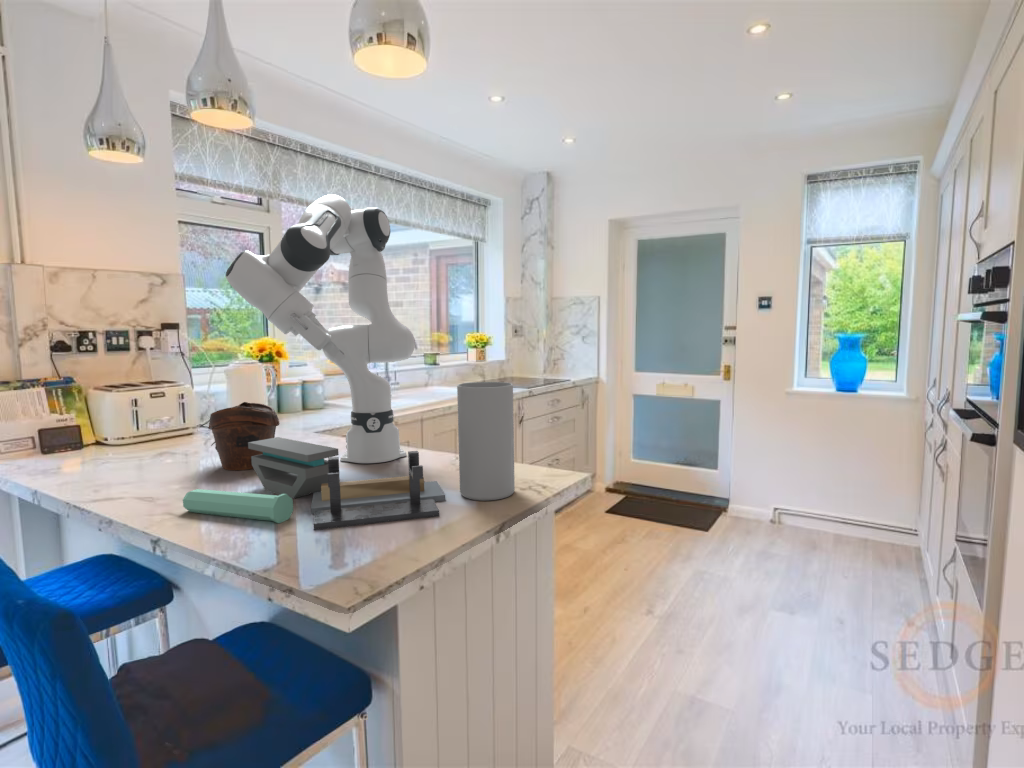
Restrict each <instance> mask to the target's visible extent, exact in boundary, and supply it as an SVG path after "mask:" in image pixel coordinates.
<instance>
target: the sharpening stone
mask: <svg viewBox="0 0 1024 768" xmlns="http://www.w3.org/2000/svg"><path fill="white" fill-rule="evenodd" d="M248 449H252V450H257V451H261V452H263V454H261V455H256V456H251V460H252V466H253V468H254V469H253V470H254V472H255V473H256V476H257V477H258V480H259V481H260V482H261V485H262V487H263V489H264V491H266V492H269V493H273V494H277V495H281V494H287V495H288V496H289V497H290V498H292V499H297V498H300V497H304V496H308V495H311V494H314V492H321V485H322V484H325V483H328V473H329V468H328V459H327V458H330V457H338V456H339V455H340V453H339V448H337V447H331V446H327V445H322V444H316V443H310V442H304V441H299V440H294V439H290V438H284V437H279V436H277V437H276V436H275V438H270V439H265V440H259V441H253V442H248Z"/></svg>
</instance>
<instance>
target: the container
mask: <svg viewBox="0 0 1024 768" xmlns="http://www.w3.org/2000/svg"><path fill="white" fill-rule="evenodd" d="M293 499H294V498H293ZM293 499H292V498H290V497H289V496H288V495H287V494H281V495H279V494H277V495H274V494H265V493H264V494H262V493H251V492H250V493H249V492H238V491H227V490H226V491H224V490H214V489H201V488H197V489H193V490H191V491H188V492H186V493H185V495H184V497H183V498H182V507H183V508H184V509H186V510H187V511H188V512H190V513H195V514H196V513H197V514H206V515H214V516H221V517H222V516H223V517H231V518H241V519H250V520H259V521H270V522H274V523H276V524H281V523H283V522H285V521H288V520H289V519H290V518H291V516H292V514H293V511H294V502H293V501H294V500H293Z"/></svg>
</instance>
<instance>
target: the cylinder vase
mask: <svg viewBox="0 0 1024 768" xmlns="http://www.w3.org/2000/svg"><path fill="white" fill-rule="evenodd" d="M456 390H457V391H456V393H457V395H456V397H457V430H458V431H457V433H458V434H457V435H458V462H459V463H458V469H459V493H460V495H461V496H463V497H464V498H466V499H469V500H471V501H472V500H473V501H485V502H486V501H488V502H489V501H498V500H502V499H505V498H509V497H510V496H512V495H513V493H514V492H515V491H516V490H515V487H516V486H515V434H514V433H515V428H514V426H515V424H514V422H515V421H514V384H513V383H510V382H504V381H503V382H502V381H479V382H478V381H477V382H476V381H475V382H465V383H464V382H463V383H459V384H457V385H456Z"/></svg>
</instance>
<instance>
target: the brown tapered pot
mask: <svg viewBox="0 0 1024 768" xmlns="http://www.w3.org/2000/svg"><path fill="white" fill-rule="evenodd" d="M277 426H280V419H279V417H278V414H277V412H276V411H275V409H274V408H273V407H271V406H270V405H267V404H265V403H264V404H263V403H257V402H247V401H244V402H242V403H239V404H238V405H235V406H231V407H226V408H223V409H218V410H216V411H214V412H212V413H210V416H209V423H208V429H210V430H211V432H212V435H213V439H214V442H213V443H211V445H210V446H211V447H212V446H213V445H215V447H214V448H215V450H216V452H217V454H218V457H219V460H220V463H221V467H222V469H224V470H227V471H245V470H252V469H253V470H254V468H253V466H252V460H251V456H256V455H261V454H263V452H261V451H257V450H252V449H248V442H253V441H259V440H265V439H270V438H276V436H275V435H276V429H277Z"/></svg>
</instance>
